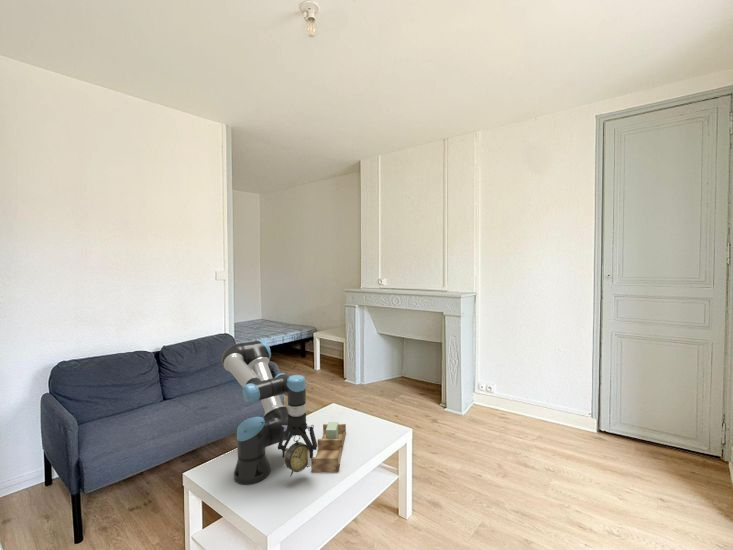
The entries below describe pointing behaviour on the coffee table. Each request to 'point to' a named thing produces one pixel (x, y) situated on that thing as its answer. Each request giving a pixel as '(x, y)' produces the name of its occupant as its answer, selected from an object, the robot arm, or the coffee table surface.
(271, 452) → the coffee table surface
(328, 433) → the sage block
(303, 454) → the alarm clock
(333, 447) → the wooden rack
